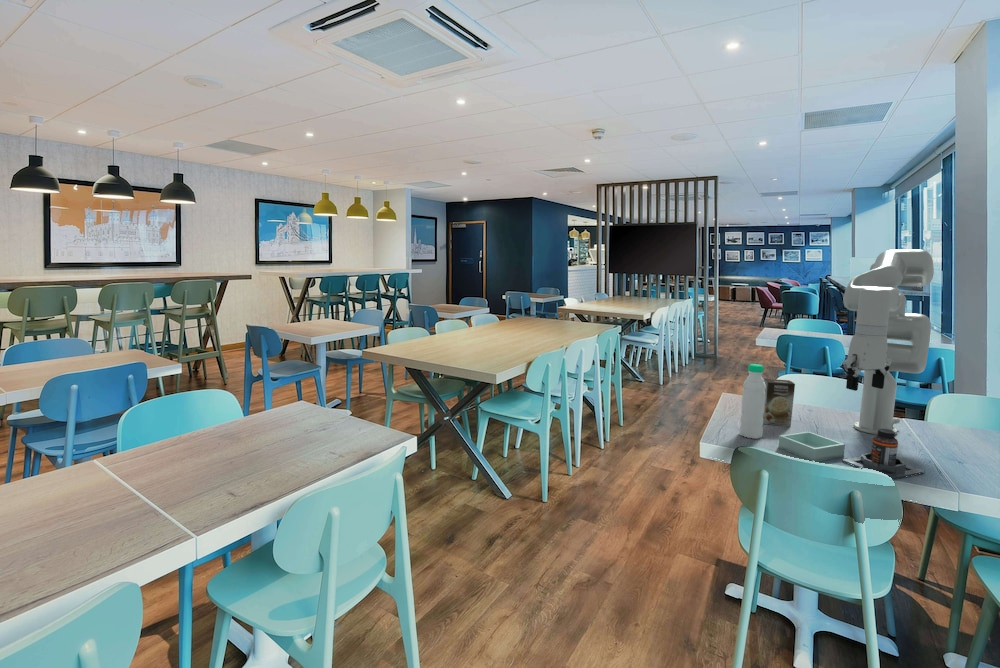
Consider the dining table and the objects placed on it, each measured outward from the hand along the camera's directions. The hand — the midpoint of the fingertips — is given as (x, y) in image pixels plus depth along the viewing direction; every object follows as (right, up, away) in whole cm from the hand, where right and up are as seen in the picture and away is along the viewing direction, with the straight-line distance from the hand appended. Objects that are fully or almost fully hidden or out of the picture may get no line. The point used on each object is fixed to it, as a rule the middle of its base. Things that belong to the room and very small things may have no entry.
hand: (864, 388), depth 152 cm
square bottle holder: (+5, -23, -1) cm, 24 cm away
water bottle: (-21, -19, +26) cm, 39 cm away
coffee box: (-5, -17, +40) cm, 44 cm away
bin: (-9, -21, +11) cm, 26 cm away
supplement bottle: (+5, -23, 0) cm, 24 cm away
